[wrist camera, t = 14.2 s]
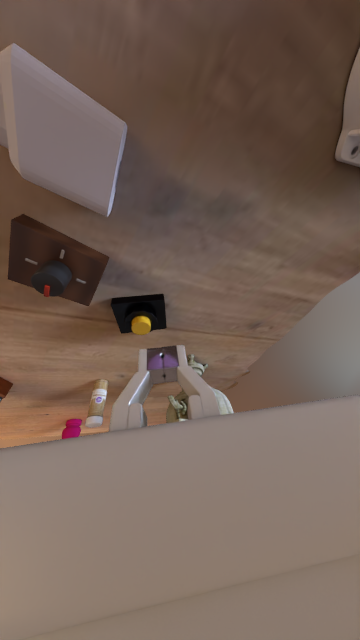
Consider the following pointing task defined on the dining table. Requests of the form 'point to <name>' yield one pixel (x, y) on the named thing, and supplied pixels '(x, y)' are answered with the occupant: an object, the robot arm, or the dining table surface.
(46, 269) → the dial
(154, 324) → the button housing
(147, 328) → the button
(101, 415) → the sprinkles bottle
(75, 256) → the control panel
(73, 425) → the pepper mill
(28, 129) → the charger
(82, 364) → the dining table surface
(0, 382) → the whiskey bottle
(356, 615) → the robot arm
